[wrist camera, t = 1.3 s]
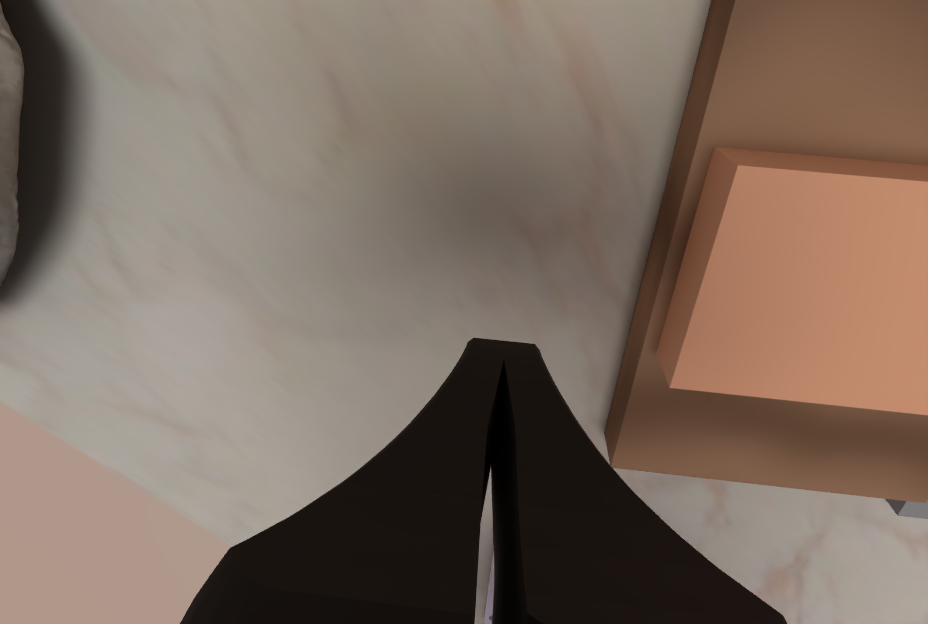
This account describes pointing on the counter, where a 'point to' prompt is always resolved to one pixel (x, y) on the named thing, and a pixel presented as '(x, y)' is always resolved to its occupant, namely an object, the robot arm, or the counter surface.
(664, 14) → the counter surface
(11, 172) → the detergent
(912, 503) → the mat
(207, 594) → the robot arm
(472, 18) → the counter surface
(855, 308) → the tile
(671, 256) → the deck
